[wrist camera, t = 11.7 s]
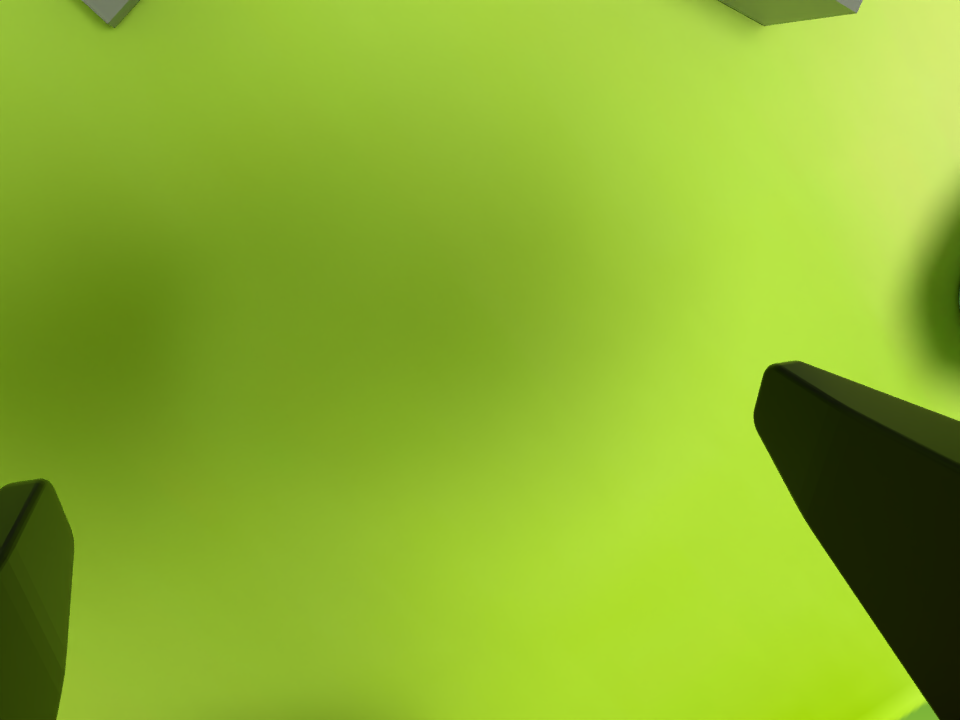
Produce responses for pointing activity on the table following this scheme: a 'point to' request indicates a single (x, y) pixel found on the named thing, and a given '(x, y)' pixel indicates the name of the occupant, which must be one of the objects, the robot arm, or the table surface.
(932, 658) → the robot arm
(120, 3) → the rubber mat
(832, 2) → the dispenser sleeve
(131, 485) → the table surface
